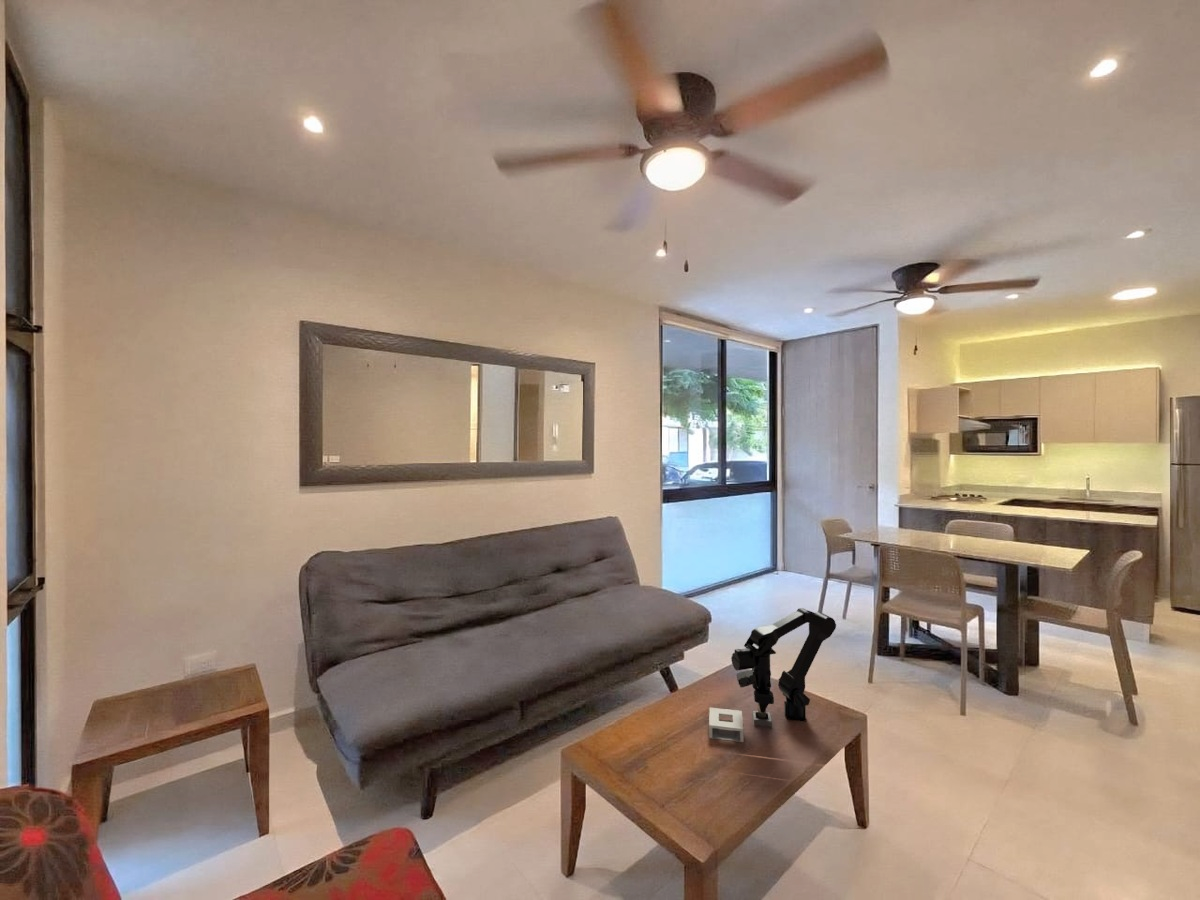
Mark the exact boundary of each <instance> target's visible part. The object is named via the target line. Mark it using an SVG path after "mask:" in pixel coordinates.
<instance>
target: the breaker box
mask: <svg viewBox="0 0 1200 900" xmlns="http://www.w3.org/2000/svg"><path fill="white" fill-rule="evenodd" d="M720 716H721V717H728V718H732V720H723V719H720ZM708 717H709V720H708V737H709V739H713V740H722V741H729V742H737V743H744V722H743V721H744V720H743V711H742V710H738V709H737V710H736V709H726V708H718V707H709V716H708Z"/></svg>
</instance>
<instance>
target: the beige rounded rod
mask: <svg viewBox="0 0 1200 900" xmlns="http://www.w3.org/2000/svg"><path fill="white" fill-rule="evenodd" d="M757 711H758V719H765V720H766V712H767V709H766V710H765V712H764V713H761V710H760V706H759V703H757Z"/></svg>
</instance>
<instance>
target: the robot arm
mask: <svg viewBox="0 0 1200 900" xmlns="http://www.w3.org/2000/svg"><path fill="white" fill-rule="evenodd" d="M805 624H808V635H807V637H806V640H805V641H804V643H803V645H802V647H801V649H800V651H799V653H798V655H797V658H796V659H795V661H794V664H792V665H793V666H792V667H791V669H789V670H788V671H786V670H783V671H782V673H781V676H780V677H779V678H778V685H777V686H778V689H779V690H780V692H781V693H782V696H784V697H785V700H784V702H783V706H784V707H783V709H784V711H783V713H784V716H785V717H786V719H787V720H788V721H797V722H807V717H806V707H807V706H809V704H810V701H811V699H810V697H808V696H807V695H806V694H805V690H806V677H807V675H808V672H809V670H810V668H811V666H812V664H813V662H814V660H815V658H816V656H817V654H818V651H819V649H820V648H821V646H822V643H823V642H825V641H826V640H827V639H829V638H831V636H832V635H833V633H834V632H835V630H836V629H837V624H836V621H835V619H834V618H833V617H831V616H830V615H827V614H825V613H823V612H821V611H817V612H813V611H811V610H808V609H806V608H803V607H800V608H798V609H797V610H796V611H794V612H792V613H790V614H789V615H787V616H785V617H783V618H781V619H779V620H777V621H776V622H775V623H773V624H770V625H762V626H759V627H756V628H754V629H752V630H751V632H750V635H749V637H748V638H747V640H746V642H745V643H744V645H743V646H744V648H741V649H739V648H736V649H734V652H733V653H732V654H731V658H730V659H731V664H732V667H733V669H734V670H736V671H740V672H737V674H736V679H737V683H738V685H739V687H740V688H745V687H749V686H751V685H752V688H753V690H754V691H753V699H754V702H755V703H757V704H758V703H759V706H760V710H761V713H764V712H765V710H766V711H767V708H768V706H769V705H774V704H775V697H774V693H773V692H772V691H771V688H772V683H771V676H772V671H771V655H775V654H777V651H775V650H774V649H773V647H774V646H775V645H777V643H778V641H779V639H781V638H782V637H784V636H785V635H787V634H789V633H791V632H793V631H794V630H796V629H798V628H800V627H802V626H803V625H805ZM755 646H757V647H755ZM742 670H743V671H742Z"/></svg>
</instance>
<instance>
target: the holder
mask: <svg viewBox="0 0 1200 900" xmlns="http://www.w3.org/2000/svg"><path fill="white" fill-rule="evenodd" d="M752 721H753V725H754V726H761V727H770V728H772V723H773V721H772V717H771V712H769V711H766V720H765V719H758V710H752Z"/></svg>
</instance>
